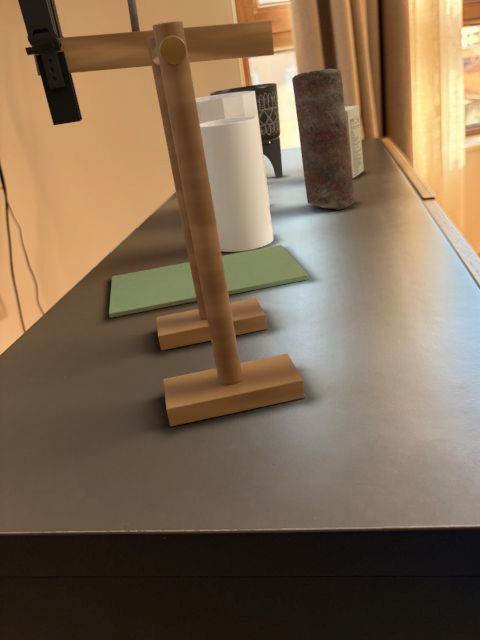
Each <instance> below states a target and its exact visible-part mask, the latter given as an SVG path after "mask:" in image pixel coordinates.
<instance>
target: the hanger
mask: <svg viewBox="0 0 480 640" xmlns="http://www.w3.org/2000/svg"><path fill="white" fill-rule="evenodd" d="M126 2H127V8H128V14H129V21H130V27H131V28H130V29H131V31H127V32H126V31H125V32H114V33H102V34H89V35H88V34H87V35H78V36H77V35H76V36H63V38H59V40H60V41H61V45H62V46H61V51H57V52H62V51H64V54H65V58H66V62H67V66H68V70H69V73H71V74H76V73H86V72H96V71H97V72H99V71H107V70H121V69H131V68H143V67H152V65H151V59H150V54H149V49H148V44H147V37H152V36H154V32H153V29H150V30H141V29H140V22H139V15H138V8H137V1H136V0H126ZM183 28H184V34H185V40H186V46H187V51H188V57H189V63H200V62H211V61H220V60H232V59H233V60H234V59H243V58H245V59H246V58H255V57H256V58H257V57H267V56H274V55H275V51H274V35H273V34H274V33H273V23H272V20H262V21H261V20H260V21H250V22H238V23H237V22H236V23H226V24H224V23H223V24H212V25H200V26H199V25H198V26H188V27H183ZM35 55H41V54H34V55H33V59H34V63H35V68H36V73H37V76H38V77H41V75H40V72H39V68H38V64H37V60H36V56H35Z"/></svg>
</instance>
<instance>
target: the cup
mask: <svg viewBox="0 0 480 640" xmlns="http://www.w3.org/2000/svg"><path fill="white" fill-rule="evenodd" d="M200 129H201V135H202V140H203V146H204V152H205V158H206V164H207V170H208V176H209V182H210V188H211V194H212V200H213V206H214V212H215V218H216V224H217V229H218V235H219V241H220V247H221V252H226V253H240V252H245V251H250V250H256V249H261V248H264V247H265V246H268V245H269V244H271V243H272V242H273V241H274V231H273V224H272V223H273V222H272V217H271V208H270V206H269V201H270V199H269V200H268V194H269V192H268V193H267V186H268V184H267V185H266V179H267V177H266V178H265V171H266V169H265V170H264V164H265V162H264V163H263V156H264V154H263V155H262V148H261V140H260V133H259V126H258V119H257V116H244V117H235V118H227V119H221V120H215V121H210V122H205V123H201V124H200Z"/></svg>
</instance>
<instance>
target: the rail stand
mask: <svg viewBox="0 0 480 640" xmlns="http://www.w3.org/2000/svg"><path fill="white" fill-rule="evenodd" d="M184 28H185V27H184V23H183V20H176V21H167V22H161V23H156V24H153V25H152V30H153V32H154V36H152V37H147V44H148V49H149V54H150V59H151V65H152V66H151V69H152V74H153V81H154V85H155V90H156V96H157V102H158V105H159V111H160V116H161V121H162V127H163V133H164V137H165V142H166V147H167V153H168V158H169V163H170V168H171V174H172V179H173V184H174V189H175V195H176V200H177V205H178V210H179V216H180V221H181V227H182V231H183V236H184V241H185V247H186V253H187V257H188V262H189V263H190V268H191V273H192V279H193V284H194V289H195V294H196V300H197V301H196V306H197V308H196V309H191V310H186V311H180V312H175V313H171V314H165V315H161V316H156V317H155V319H156V320H155V321H156V329H157V337H158V342H159V346H160V350H161V351H166V350H171V349H176V348H181V347H185V346H190V345H191V346H192V345H195V344H201V343H206V342H211V347H212V353H213V358H214V364H215V367H214V368H210V369H206V370H205V369H204V370H200V371H195V372H191V373H187V374H182V375H177V376H172V377H171V376H170V377H167V378H163V379H162V383H163V392H164V400H165V408H166V413H167V417H168V418H167V419H168V423H169V426H170V427H176V426H181V425H184V424H189V423H193V422H199V421H203V420H204V421H205V420H208V419H213V418H217V417H221V416H227V415H231V414H235V413H241V412H245V411H251V410H254V409H258V408H263V407H267V406H273V405H277V404H281V403H287V402H291V401H296V400H300V399H305V397H306V394H305V392H306V391H305V385H304V379H303V378H302V376H301V374H300V373H299V371H298V369H297V368H296V365H295V364H294V362H293V360H292V359H291V357H290V355H289V353H288V352H287V353H282V354H277V355H273V356H268V357H263V358H259V359H254V360H253V359H252V360H248V361H244V362H241V361H240V355H239V349H238V343H237V338H236V336H239V335H240V336H241V335H246V334H249V333H254V332H255V333H256V332H260V331H265V330H268V328H269V327H268V321H267V315H266V313H265V310H264V309H263V307H262V306H261V304H260V302H259V300H258V298H257V297H252V298H246V299H242V300H236V301H232V302H230V295H228V289H227V283H226V277H225V271H224V265H223V259H222V256H223V254H222V251H221V247H220V241H219V235H218V229H217V224H216V218H215V212H214V206H213V200H212V194H211V188H210V182H209V176H208V170H207V164H206V158H205V152H204V146H203V140H202V135H201V129H200V123H199V117H198V111H197V105H196V99H195V98H196V93H195V88H194V81H193V75H192V70H191V64H190V63H191V62H189V57H188V51H187V46H186V40H185V34H184Z"/></svg>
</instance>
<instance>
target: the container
mask: <svg viewBox="0 0 480 640" xmlns="http://www.w3.org/2000/svg"><path fill="white" fill-rule="evenodd" d="M195 99H196V105H197V111H198V117H199V123H200V124H201V123H205V122H210V121H215V120H221V119H227V118H235V117H244V116H257V119H258V126H259V118H258V111H257V103H256V96H255V91H243V92H234V93H226V94H219V95H212V96H210V95H207V96H206V95H205V96H200V97H195ZM259 133H260V126H259ZM260 140H261V133H260ZM261 148H262V141H261ZM262 155H263V163H264V170H265V178H266V185H267V193H268V200H269V207H270V204H271V201H270V196H269V195H270V194H269V187H268V179H267V172H266V166H265V165H266V164H265V158H264V156H265V155H264V154H263V149H262Z"/></svg>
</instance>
